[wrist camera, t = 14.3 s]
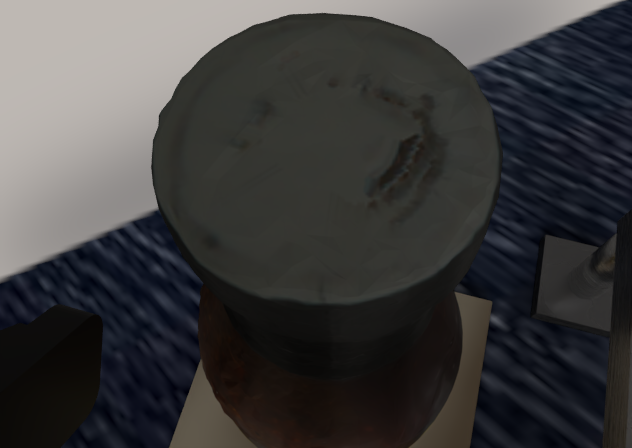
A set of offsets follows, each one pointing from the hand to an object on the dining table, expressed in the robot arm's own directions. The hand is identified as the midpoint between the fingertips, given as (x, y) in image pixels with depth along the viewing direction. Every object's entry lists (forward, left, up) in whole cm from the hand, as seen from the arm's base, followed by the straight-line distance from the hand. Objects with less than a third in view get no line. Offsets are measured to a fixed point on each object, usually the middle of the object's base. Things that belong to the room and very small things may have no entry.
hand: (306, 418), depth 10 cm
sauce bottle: (0, -2, -15) cm, 15 cm away
